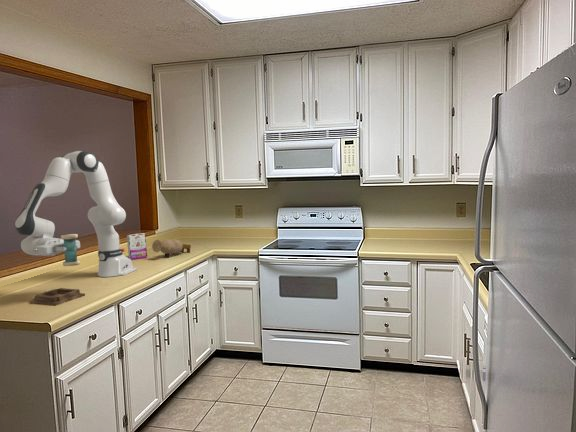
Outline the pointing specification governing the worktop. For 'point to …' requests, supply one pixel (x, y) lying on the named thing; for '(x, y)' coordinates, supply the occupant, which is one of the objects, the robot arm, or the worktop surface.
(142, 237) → the candy bar box
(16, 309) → the worktop surface
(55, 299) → the pocket board
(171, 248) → the brown stuffed animal
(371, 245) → the worktop surface
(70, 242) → the bobbin
